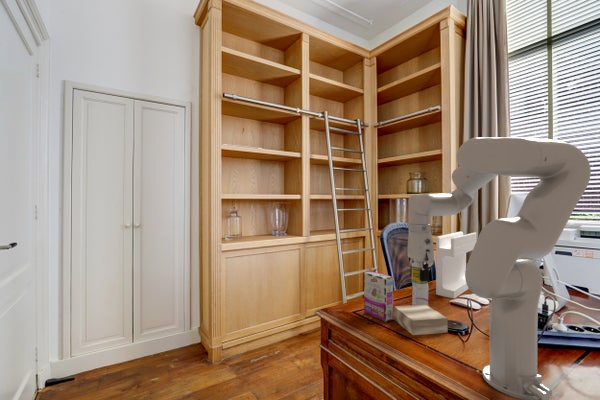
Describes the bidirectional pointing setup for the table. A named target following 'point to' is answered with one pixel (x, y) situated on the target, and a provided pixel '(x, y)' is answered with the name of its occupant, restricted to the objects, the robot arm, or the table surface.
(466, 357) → the table surface
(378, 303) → the candy bar box
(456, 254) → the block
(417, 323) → the base block
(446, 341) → the table surface
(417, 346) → the table surface
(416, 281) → the supplement bottle
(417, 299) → the ink box
